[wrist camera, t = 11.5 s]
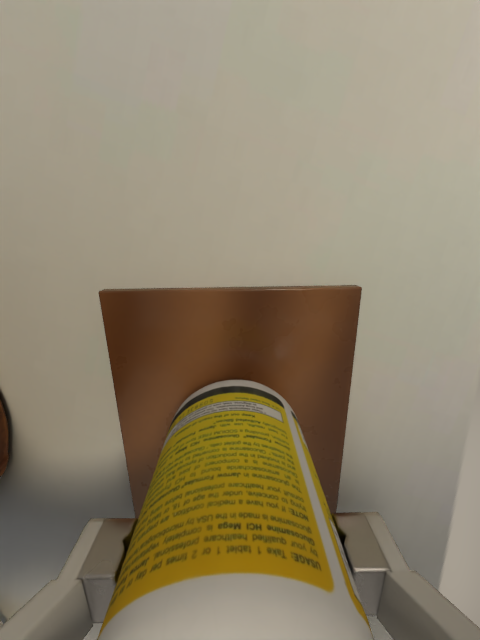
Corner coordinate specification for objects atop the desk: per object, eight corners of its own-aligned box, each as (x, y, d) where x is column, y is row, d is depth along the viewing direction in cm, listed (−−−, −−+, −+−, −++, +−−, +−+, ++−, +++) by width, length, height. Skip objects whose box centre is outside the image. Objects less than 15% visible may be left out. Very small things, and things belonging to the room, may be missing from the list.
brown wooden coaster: (356, 285, 13) (362, 287, 12) (332, 508, 17) (335, 517, 16) (104, 289, 13) (97, 291, 12) (139, 513, 17) (135, 523, 16)
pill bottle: (145, 430, 13) (-220, 1202, 3) (236, 348, 12) (243, 1142, 1) (234, 499, 15) (229, 1196, 4) (323, 431, 13) (656, 1163, 3)
